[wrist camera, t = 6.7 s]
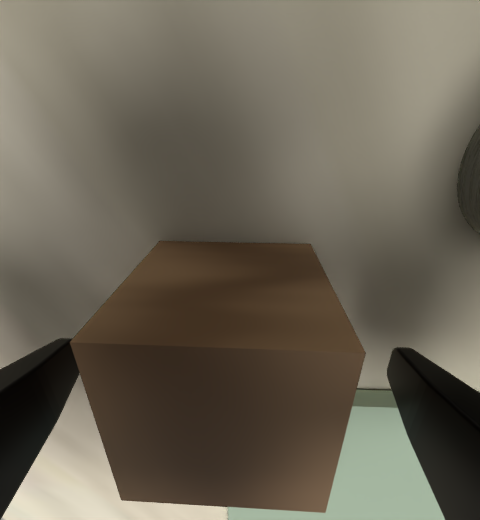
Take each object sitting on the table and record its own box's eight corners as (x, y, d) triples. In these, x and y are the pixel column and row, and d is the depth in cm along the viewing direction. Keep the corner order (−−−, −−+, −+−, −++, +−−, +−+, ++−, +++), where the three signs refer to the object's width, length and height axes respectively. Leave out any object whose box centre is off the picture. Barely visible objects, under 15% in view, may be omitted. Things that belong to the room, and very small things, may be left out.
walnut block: (309, 243, 9) (365, 353, 5) (296, 358, 11) (325, 512, 7) (160, 240, 9) (69, 341, 5) (174, 353, 11) (121, 500, 7)
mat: (543, 395, 11) (563, 414, 10) (451, 539, 16) (460, 559, 15) (224, 384, 12) (222, 401, 11) (230, 527, 17) (229, 545, 16)
